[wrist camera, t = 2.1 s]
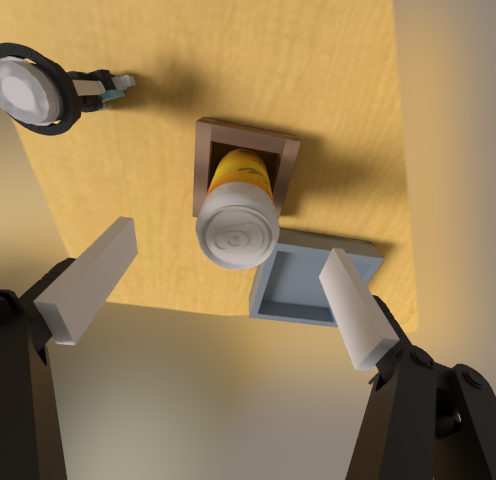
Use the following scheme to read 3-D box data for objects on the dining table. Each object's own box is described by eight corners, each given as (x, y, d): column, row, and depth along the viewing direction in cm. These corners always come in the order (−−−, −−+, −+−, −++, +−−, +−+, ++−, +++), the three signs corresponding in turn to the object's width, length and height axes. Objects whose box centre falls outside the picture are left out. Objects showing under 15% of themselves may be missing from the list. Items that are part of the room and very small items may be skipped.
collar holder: (202, 117, 24) (196, 121, 21) (294, 135, 25) (300, 141, 22) (197, 204, 30) (192, 216, 27) (273, 215, 31) (275, 229, 28)
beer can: (268, 191, 29) (284, 269, 16) (223, 198, 29) (206, 278, 17) (263, 143, 25) (277, 193, 13) (212, 151, 26) (179, 208, 14)
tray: (268, 226, 32) (270, 242, 28) (370, 242, 33) (384, 258, 30) (249, 299, 41) (249, 317, 37) (330, 308, 42) (337, 327, 39)
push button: (122, 47, 21) (39, 19, 12) (149, 110, 24) (96, 122, 15) (61, 68, 22) (-54, 55, 13) (95, 127, 24) (17, 146, 16)
